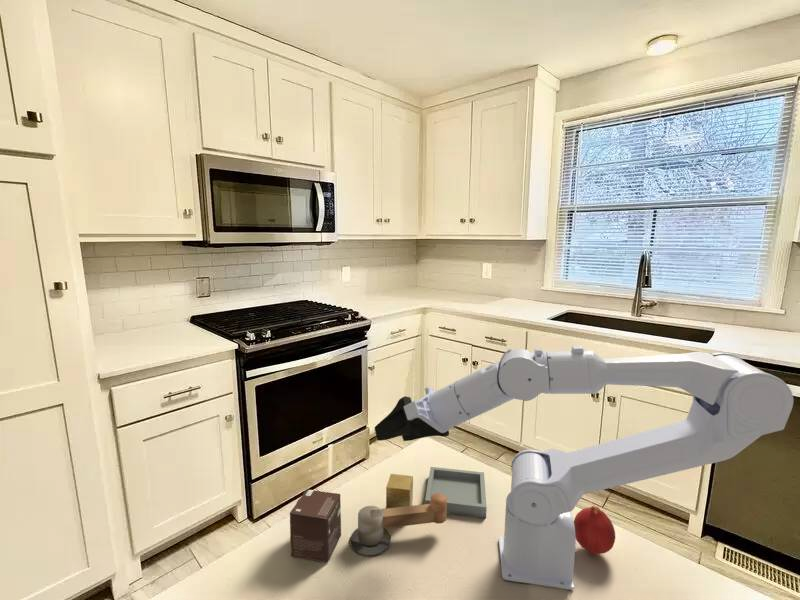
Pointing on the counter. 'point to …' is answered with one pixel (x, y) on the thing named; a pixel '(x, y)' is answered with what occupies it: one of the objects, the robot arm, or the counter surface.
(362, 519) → the crank
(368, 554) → the crank base
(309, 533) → the box
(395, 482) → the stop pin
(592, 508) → the onion
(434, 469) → the tray
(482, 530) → the counter surface
